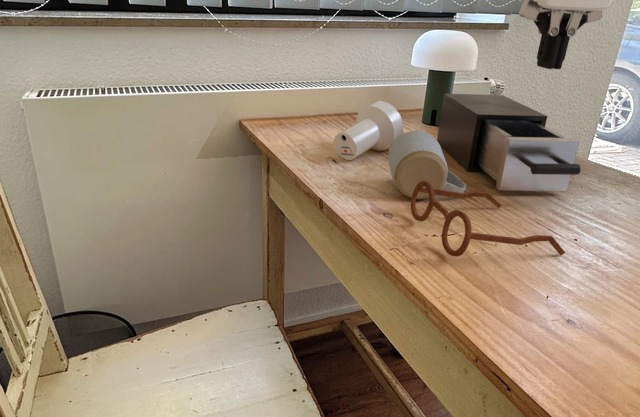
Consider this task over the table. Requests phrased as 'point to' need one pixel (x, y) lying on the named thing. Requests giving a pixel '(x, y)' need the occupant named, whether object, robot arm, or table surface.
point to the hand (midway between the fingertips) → (548, 67)
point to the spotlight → (370, 131)
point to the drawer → (526, 155)
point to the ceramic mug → (420, 165)
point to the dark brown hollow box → (476, 122)
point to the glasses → (467, 220)
